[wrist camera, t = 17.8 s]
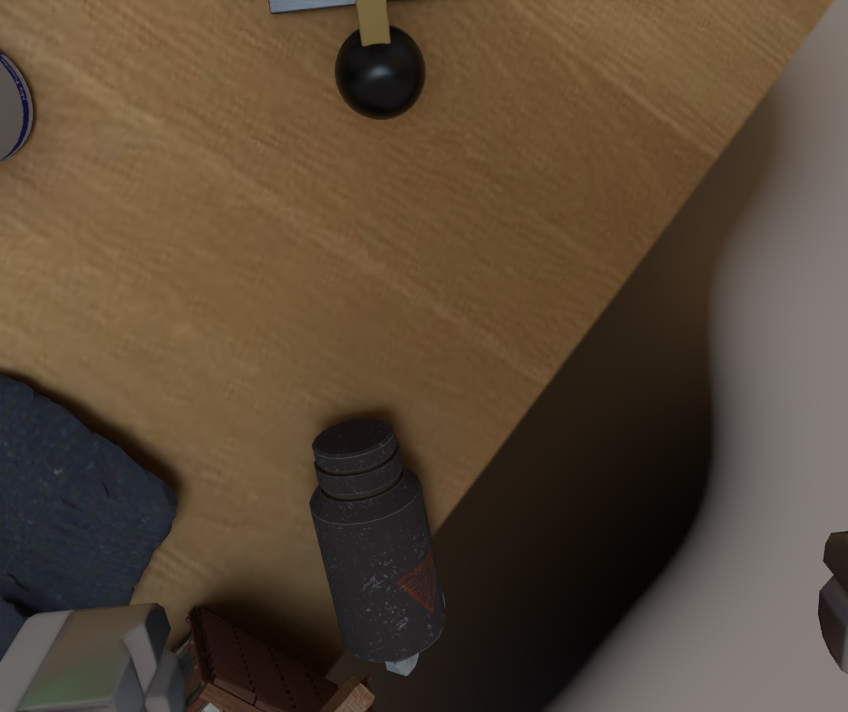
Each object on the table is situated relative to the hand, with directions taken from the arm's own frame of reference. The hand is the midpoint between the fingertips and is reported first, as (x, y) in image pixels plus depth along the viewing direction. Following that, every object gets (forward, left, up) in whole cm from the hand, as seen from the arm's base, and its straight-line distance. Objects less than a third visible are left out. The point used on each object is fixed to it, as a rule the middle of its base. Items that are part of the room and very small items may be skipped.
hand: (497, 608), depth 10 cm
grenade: (+7, +11, -29) cm, 32 cm away
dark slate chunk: (+29, +13, -31) cm, 44 cm away
